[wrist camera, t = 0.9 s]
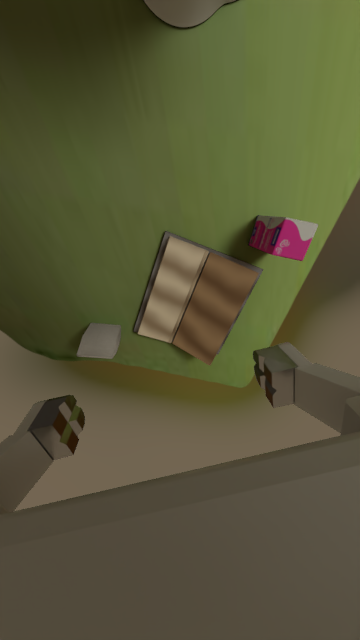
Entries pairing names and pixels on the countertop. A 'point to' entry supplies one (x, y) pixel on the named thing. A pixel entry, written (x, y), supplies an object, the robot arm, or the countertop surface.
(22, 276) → the countertop surface
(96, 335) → the white food carton
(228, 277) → the walnut plank
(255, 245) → the supplement box
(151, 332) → the floor board
